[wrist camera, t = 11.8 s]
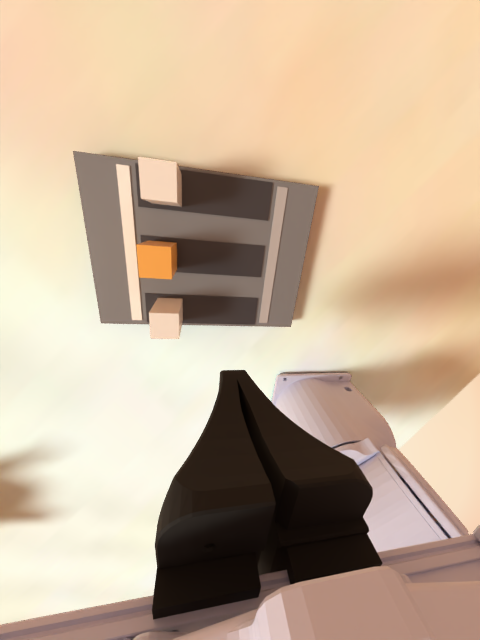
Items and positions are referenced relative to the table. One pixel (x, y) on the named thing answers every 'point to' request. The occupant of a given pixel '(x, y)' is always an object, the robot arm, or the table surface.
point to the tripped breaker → (157, 259)
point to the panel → (193, 243)
